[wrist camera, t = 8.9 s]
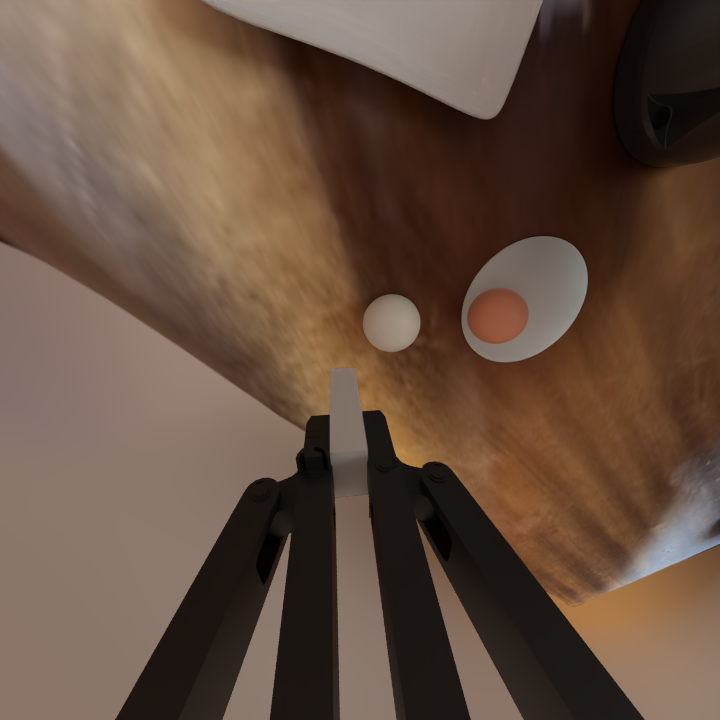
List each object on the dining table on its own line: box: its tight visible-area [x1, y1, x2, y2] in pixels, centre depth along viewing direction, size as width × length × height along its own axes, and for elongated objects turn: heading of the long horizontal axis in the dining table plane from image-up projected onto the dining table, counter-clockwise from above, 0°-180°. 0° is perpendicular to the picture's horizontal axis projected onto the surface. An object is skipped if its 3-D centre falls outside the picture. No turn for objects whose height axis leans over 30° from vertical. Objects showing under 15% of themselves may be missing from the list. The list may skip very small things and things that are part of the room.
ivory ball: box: [363, 294, 420, 352], centre depth 27 cm, size 6×6×6 cm
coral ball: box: [467, 288, 529, 344], centre depth 28 cm, size 6×6×6 cm
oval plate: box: [461, 236, 588, 362], centre depth 31 cm, size 14×14×1 cm
